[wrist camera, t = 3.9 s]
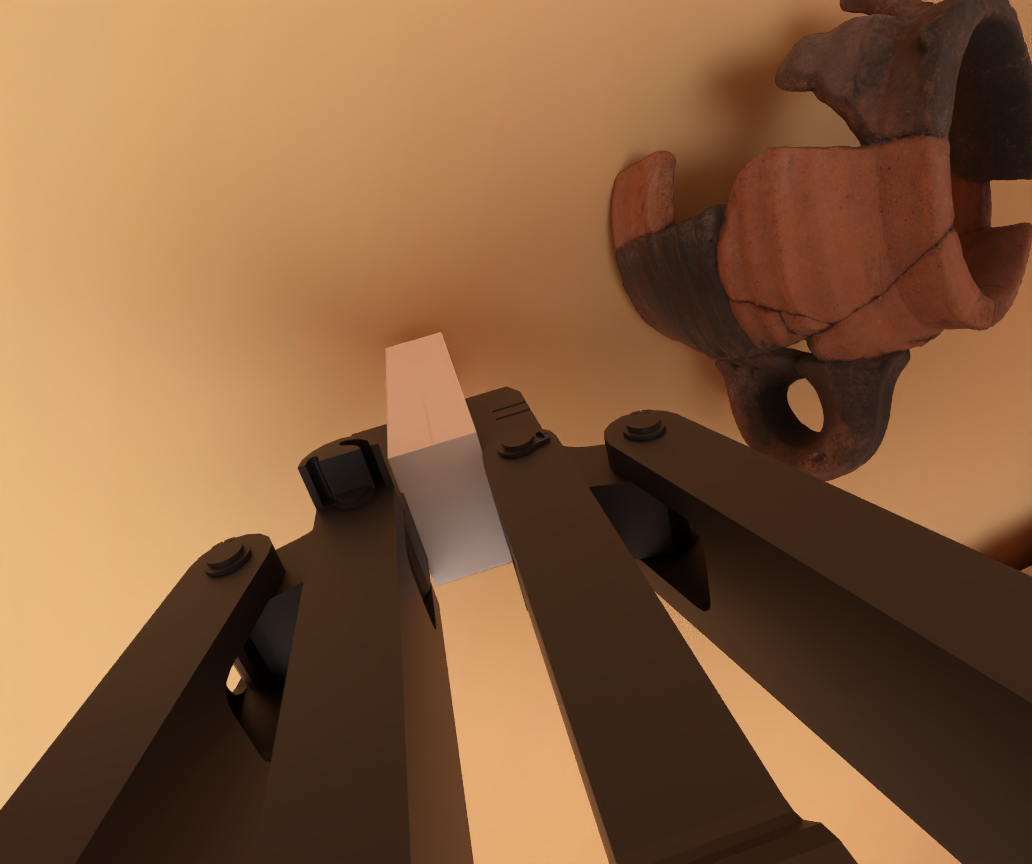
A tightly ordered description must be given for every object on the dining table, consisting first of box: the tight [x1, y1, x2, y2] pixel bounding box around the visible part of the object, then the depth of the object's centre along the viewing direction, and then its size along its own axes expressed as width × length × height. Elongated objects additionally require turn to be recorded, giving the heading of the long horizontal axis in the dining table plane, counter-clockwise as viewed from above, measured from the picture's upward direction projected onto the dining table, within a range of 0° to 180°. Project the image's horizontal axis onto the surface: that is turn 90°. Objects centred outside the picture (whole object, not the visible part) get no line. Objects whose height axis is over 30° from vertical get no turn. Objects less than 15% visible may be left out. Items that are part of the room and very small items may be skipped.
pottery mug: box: [612, 0, 1032, 482], centre depth 17 cm, size 12×10×8 cm
